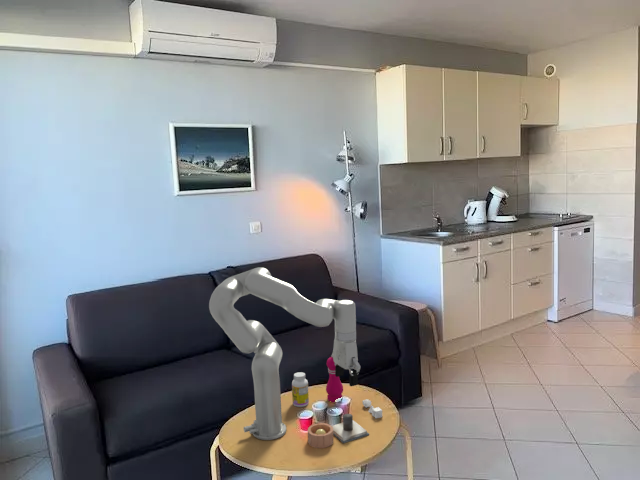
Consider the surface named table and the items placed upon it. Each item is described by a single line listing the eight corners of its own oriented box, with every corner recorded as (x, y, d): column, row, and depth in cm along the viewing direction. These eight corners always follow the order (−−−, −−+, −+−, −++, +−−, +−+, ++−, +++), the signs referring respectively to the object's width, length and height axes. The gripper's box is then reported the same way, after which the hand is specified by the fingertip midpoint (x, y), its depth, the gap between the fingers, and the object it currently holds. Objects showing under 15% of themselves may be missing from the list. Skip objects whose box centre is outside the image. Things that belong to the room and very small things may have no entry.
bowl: (315, 450, 183) (315, 438, 182) (303, 439, 191) (303, 427, 190) (338, 443, 187) (337, 431, 186) (325, 432, 195) (325, 420, 194)
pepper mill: (339, 394, 226) (338, 349, 223) (346, 401, 219) (345, 355, 216) (323, 397, 223) (322, 352, 220) (330, 404, 217) (328, 357, 214)
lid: (343, 441, 188) (343, 425, 187) (329, 429, 196) (329, 414, 195) (367, 433, 192) (366, 418, 191) (352, 422, 201) (352, 407, 200)
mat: (343, 443, 187) (343, 442, 187) (327, 430, 196) (327, 429, 196) (369, 434, 192) (369, 433, 192) (353, 422, 202) (353, 421, 202)
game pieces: (382, 417, 205) (382, 410, 205) (375, 419, 204) (375, 411, 203) (368, 404, 216) (368, 397, 216) (361, 406, 215) (361, 398, 214)
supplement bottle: (290, 401, 220) (289, 372, 219) (306, 399, 222) (305, 370, 220) (295, 408, 214) (293, 378, 212) (310, 406, 216) (309, 376, 214)
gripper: (324, 330, 194) (325, 374, 197) (349, 344, 179) (350, 391, 182) (342, 326, 198) (343, 370, 201) (367, 340, 183) (368, 386, 186)
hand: (346, 380), depth 191 cm, fingers open, 9 cm apart
